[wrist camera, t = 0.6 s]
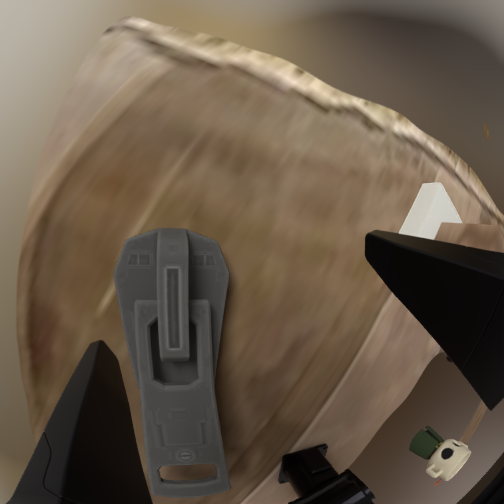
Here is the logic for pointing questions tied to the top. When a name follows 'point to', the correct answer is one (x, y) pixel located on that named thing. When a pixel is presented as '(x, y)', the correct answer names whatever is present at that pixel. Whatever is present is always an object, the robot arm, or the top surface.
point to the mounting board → (429, 212)
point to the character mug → (440, 453)
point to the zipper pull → (175, 350)
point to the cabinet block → (472, 235)
